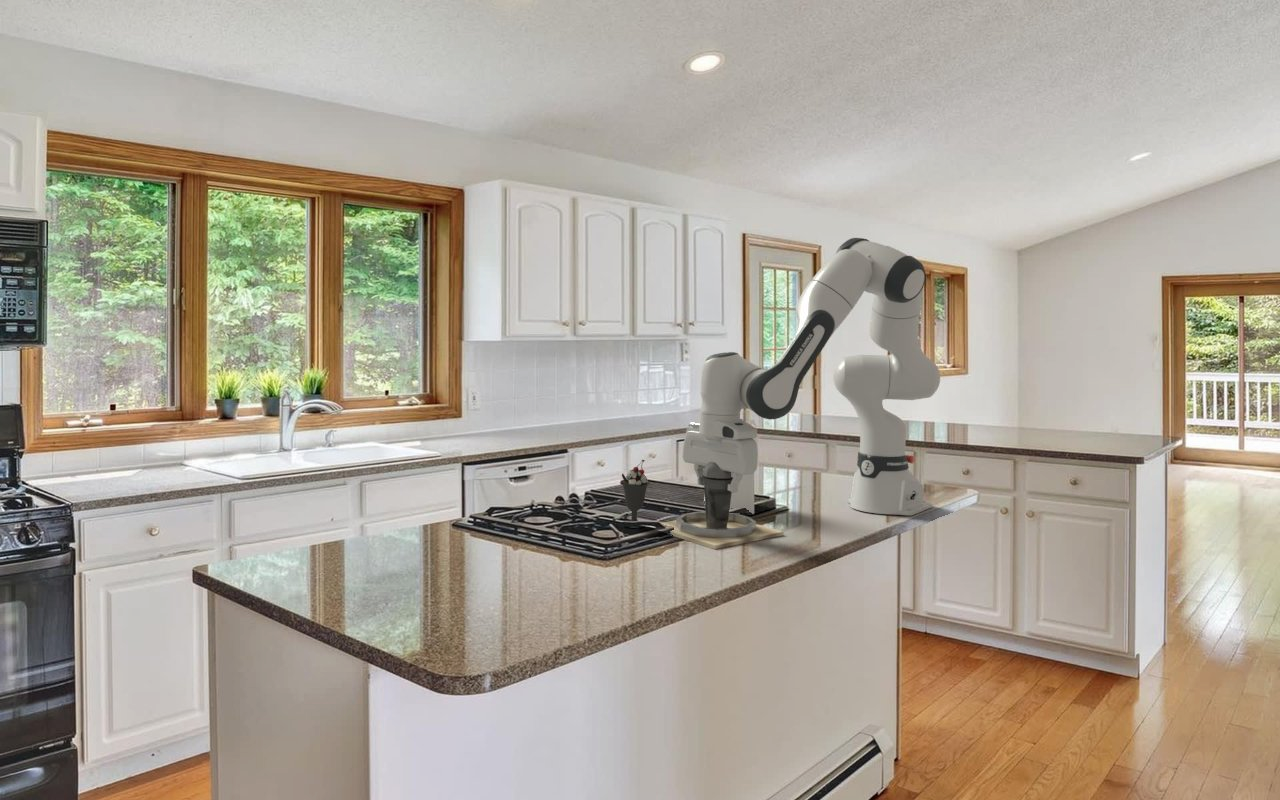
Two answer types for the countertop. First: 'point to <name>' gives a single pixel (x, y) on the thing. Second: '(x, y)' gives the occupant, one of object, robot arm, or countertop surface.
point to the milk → (744, 494)
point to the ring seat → (720, 530)
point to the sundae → (634, 490)
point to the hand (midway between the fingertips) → (717, 488)
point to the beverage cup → (716, 495)
